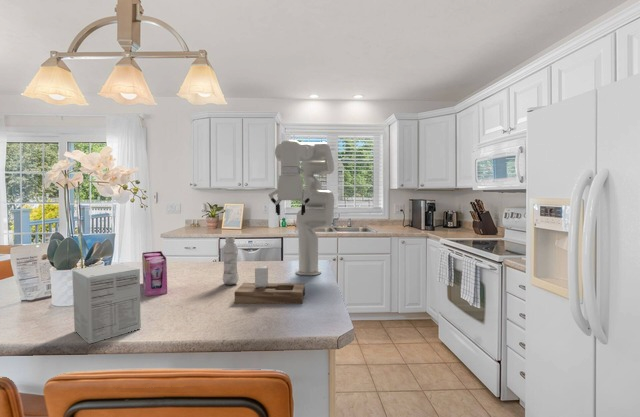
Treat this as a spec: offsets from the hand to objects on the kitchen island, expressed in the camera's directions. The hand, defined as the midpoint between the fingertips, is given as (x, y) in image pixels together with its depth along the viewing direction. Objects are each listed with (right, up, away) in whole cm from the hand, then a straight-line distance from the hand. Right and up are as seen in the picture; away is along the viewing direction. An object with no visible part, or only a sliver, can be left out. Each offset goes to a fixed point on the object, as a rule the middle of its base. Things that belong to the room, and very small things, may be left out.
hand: (290, 214), depth 135 cm
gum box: (-57, -31, +5) cm, 64 cm away
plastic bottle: (-27, -30, +10) cm, 42 cm away
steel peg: (-10, -31, -9) cm, 34 cm away
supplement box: (-48, -32, -39) cm, 70 cm away
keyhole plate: (-6, -31, -10) cm, 33 cm away
